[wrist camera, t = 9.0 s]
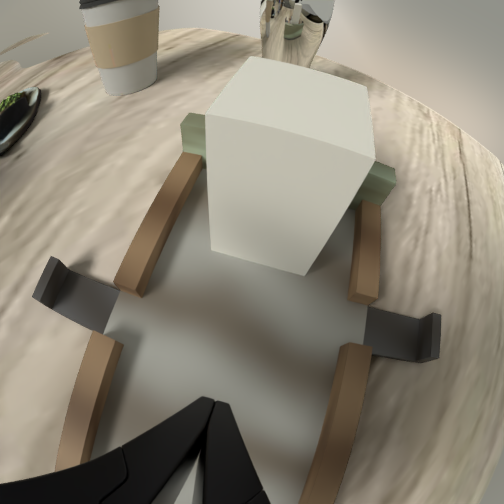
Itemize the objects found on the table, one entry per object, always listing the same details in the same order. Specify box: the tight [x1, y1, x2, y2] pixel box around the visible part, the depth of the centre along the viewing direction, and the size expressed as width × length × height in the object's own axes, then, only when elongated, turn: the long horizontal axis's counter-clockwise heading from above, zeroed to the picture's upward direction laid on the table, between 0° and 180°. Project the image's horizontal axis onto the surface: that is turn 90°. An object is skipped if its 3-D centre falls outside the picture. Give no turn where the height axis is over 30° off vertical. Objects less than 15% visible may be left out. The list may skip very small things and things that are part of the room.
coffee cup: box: [79, 0, 159, 96], centre depth 21 cm, size 9×9×15 cm
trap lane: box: [32, 113, 441, 504], centre depth 14 cm, size 26×26×5 cm
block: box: [205, 56, 376, 276], centre depth 14 cm, size 6×6×10 cm
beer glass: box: [260, 0, 334, 68], centre depth 22 cm, size 7×7×15 cm
